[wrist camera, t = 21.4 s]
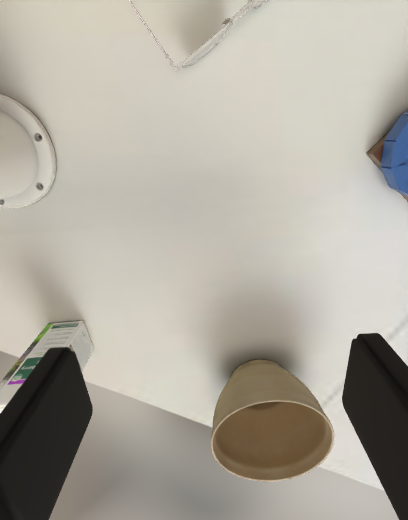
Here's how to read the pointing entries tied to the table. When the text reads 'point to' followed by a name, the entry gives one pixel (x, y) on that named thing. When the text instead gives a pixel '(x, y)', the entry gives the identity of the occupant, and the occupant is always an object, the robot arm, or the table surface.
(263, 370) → the planter bowl
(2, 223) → the table surface
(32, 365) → the syrup box
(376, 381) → the robot arm
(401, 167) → the blue ring
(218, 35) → the eyeglasses
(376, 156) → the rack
